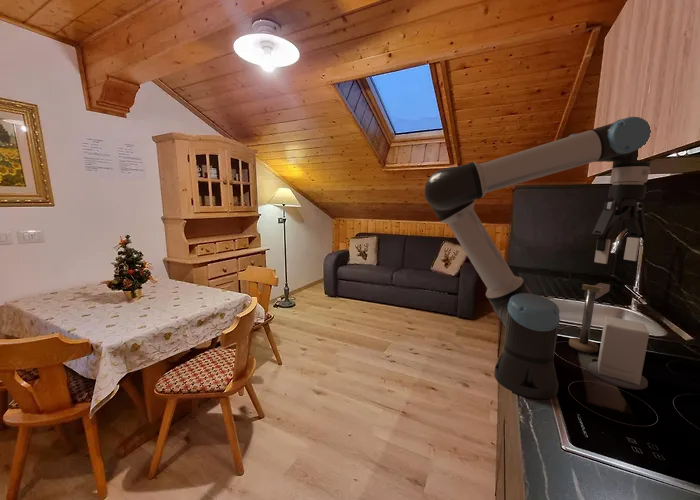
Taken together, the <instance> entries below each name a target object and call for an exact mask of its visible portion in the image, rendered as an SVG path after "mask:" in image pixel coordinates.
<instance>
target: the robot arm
mask: <svg viewBox="0 0 700 500" xmlns="http://www.w3.org/2000/svg"><path fill="white" fill-rule="evenodd" d="M648 122H649V121H647V120H646V119H644V118H642V117H640V116H639V117H638V116H628V117H625V118H621V119H617V120H616V121H615V122H612V123H608V124H606V125H602V126H599V127H595V128H593V129H591V130H586V131H583V132H579V133H572V134H570V135H568V136H567V137H563V138H560V139H556V140H554V141H551V142H550V141H549V142H546V143H544V144H540V145H537V146H534V147H530V148H528V149H524V150H521V151H517V152H515V153H511V154H508V155H504V156H501V157H498V158H495V159H492V160H488V161H484V162H481V163H478V162H476V161H472V162H468V163H466V164H465V163H464V164H461V165H457V166H451V167H447V168H446V167H445V168H441V169H439V170H437V171H435V172H434V173H432V174H431V175H430V177H429V178H428V179H426V183H425V186H424V199H425V200H426V202H427V203H428V205H429V206H430V208H431V209H432V211H433V212H434V214H435V216H436V217H437V218H438V220H439V222H440V223H443V224H447V225H448V227H449V228H450V230H451V231H452V232H451V233H453V235H454V237H455V238H456V240H457V241H458V242H459V244H460V246H461V248H462V250H463V251H464V253H465V255H466V256H467V258H468V259H469V261H470V262H471V265H473V267H474V270H475V271H476V272H477V273H478V276H479V277H480V279H481V280H482V282H483V283H484V285H485V287H486V292H485V296H486V298H487V300H488V301H489V303H490V304H491V306H492V307H493V311H494V313H495V314H496V316H498V317H499V319H500V321H501V322H502V324H503V326H504V328H505V336H504V343H503V344H504V345H503V351H502V353H501V355H500V356H499V358H498V360H497V362H496V363H495V366H494V373H493V374H494V375H493V376H494V378H495V380H496V382H497V383H498V384H499V385H501V386H502V387H503V388H505V389H506V390H508V391H509V392H513V393H515V394H517V395H519V396H522V397H525V398H530V399H536V400H547V399H552V398H554V397H556V396H557V395H558V391H559V386H560V385H559V384H560V383H559V381H558V377H557V372H556V368H555V363H554V359H555V354H556V353H555V352H556V347H557V346H556V344H557V338H558V331H559V324H560V322H561V319H560V308H559V306H558V305H557V304H556V303H555V301H553V300H552V299H550V298H547V297H544V296H543V295H538V294H534V293H532V292H531V290H530V288H529V287H528V285H527V283H526V282H525V280H524V279H523V277H521V276H517V275H514V273H513V271H512V270H511V268H510V267H509V265H508V263H507V262H506V260H505V259H504V257H503V255H502V253H501V251H500V250H499V249H498V247H497V245H496V244H495V241H494V240H493V239H492V237H491V235H490V234H489V233H488V231H487V228H486V227H485V226H484V223H482V221H481V219H480V218H479V216H478V214H477V213H476V211H475V210H474V207H475V203H476V200H479V199H482V198H484V197H485V196H486V194H487V193H490V192H493V191H496V190H500V189H504V188H507V187H510V186H514V185H517V184H522V183H525V182H529V181H532V180H535V179H538V178H542V177H546V176H549V175H552V174H556V173H560V172H563V171H567V170H571V169H574V168H578V167H581V166H584V165H587V164H590V163H591V164H592V163H597V162H601V163H602V162H604V163H605V162H609V163H610V162H612V167H611V168H612V169H611V173H610V174H611V175H610V179H609V182H610V184H612V185H610V186H609V188H608V195H607V197H608V199H610V200H612V201H605V202H604V203H603V204H604V205H603V208H602V211H601V213H600V215H599V218H598V220H597V223H596V224H595V227H594V228H593V231H592V234H591V235H592V239H596V245H595V246H596V248H595V254H594V261H593V262H594V263H597V264H604V265H607V264H608V260H609V255H610V254H609V252H610V246H611V241H612V240H611V239H609V238H610V236H612V234H613V232H614V230H615V229H616V228H617V226H618V225H619V223H620V222H621V221H624V224H625V227H626V229H627V233H628V235H629V236H628V237H626V242H625V243H626V244H625V248H624V254H623V260H627V261H633V262H637V261H638V253H639V248H640V242H641V239H645V238H646V237H647V236H646V235H647V225H646V219H645V202H638V200H644V199H645V198H646V191H647V185H646V183H647V182H648V178H649V174H651V169H650V167H651V162H652V160H651V161H645V162H643V161H638V160H637V157H638V149H639V148H641V147H642V146H643V145H645V144H646V142H647V141H648V139H649V137H650V133H651V130H650V126H649V124H648ZM555 395H556V396H555ZM553 396H554V397H553ZM551 397H552V398H551Z"/></svg>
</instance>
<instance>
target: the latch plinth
mask: <svg viewBox="0 0 700 500" xmlns="http://www.w3.org/2000/svg"><path fill="white" fill-rule="evenodd" d="M579 340H580V337H571V338H569V340H568V345H569V347H571V348H572V349H574V350H577V351H579V352H583V353H584V352H585V353H591V354H595V353H599V352H598V351H599V345H598V344H597V343H595V342H594V341H592V340H589V341H588V344H583V343H580V342H579Z"/></svg>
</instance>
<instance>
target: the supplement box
mask: <svg viewBox="0 0 700 500" xmlns="http://www.w3.org/2000/svg"><path fill="white" fill-rule="evenodd" d="M649 337H650V333H649V330H648V327H647V326H646V324H645V323H644V322H639V321H635V320H634V321H633V320H627V319H624V318H618V317H613V316H607V315H605V316H604V321H603V327H602V334H601V339H600V346H599V350H598V351H599V352H598V358H597V362H598V374H602V375H605V376H609V377H612V378H616V379H620V380H623V381H627V382H630V383H634V384H637V385H640V380H641V375H642V374H643V368H644V364H645V357H646V353H647V348H648V342H649ZM642 376H643V375H642Z"/></svg>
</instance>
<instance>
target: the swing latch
mask: <svg viewBox="0 0 700 500" xmlns="http://www.w3.org/2000/svg"><path fill="white" fill-rule="evenodd" d="M610 289H611V284H610V283H609V284H608V283H602V282H599V283H597V284H595V285H591V284H585V283H582V284H581V290H584V294H583V299H584V298H585V299H584V300H585V301H584V307H583V316H582V321H581V328H580V335H579V338H580V340H579V342H580V343H583V344H588V341H590V340H589V339H590V334H591V327H592V321H593V320H592V319H593V313H594V307H595V306H594V305H595V300H597V299H599V298H600V297H602V296H604V295H605V294H607V293H609V292H610Z"/></svg>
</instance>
